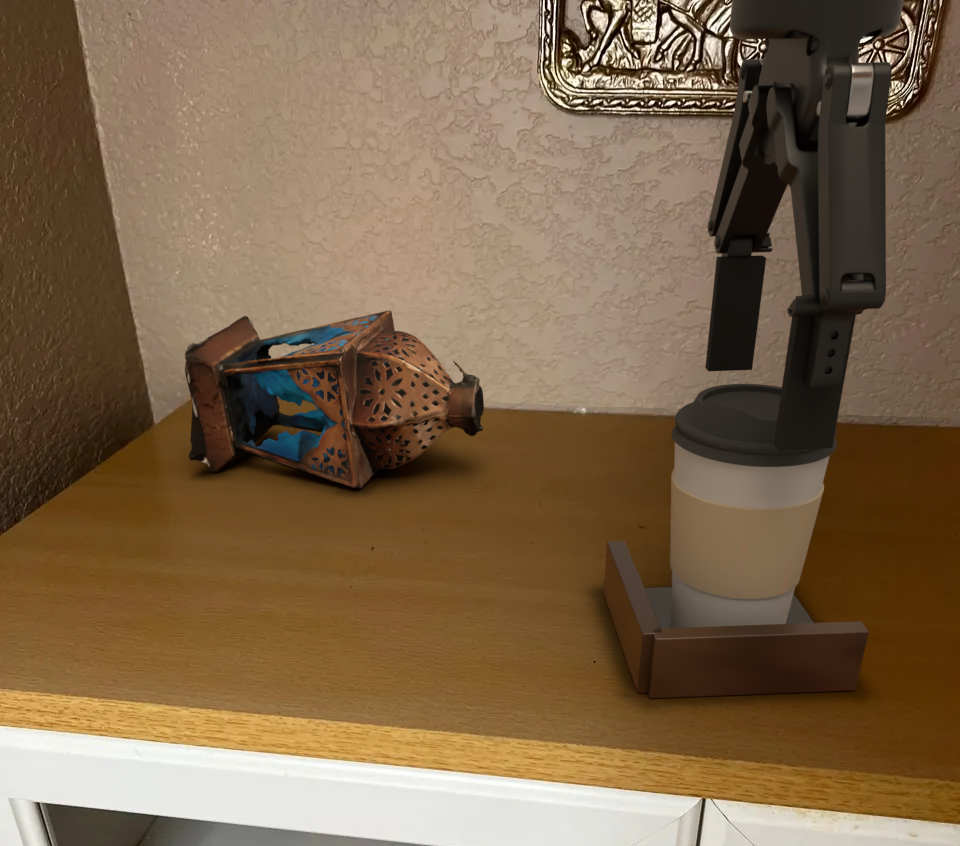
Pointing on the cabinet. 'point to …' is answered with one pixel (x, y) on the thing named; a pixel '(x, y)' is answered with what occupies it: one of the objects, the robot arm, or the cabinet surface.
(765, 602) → the coffee cup
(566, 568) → the cabinet surface
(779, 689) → the corner guide
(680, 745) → the cabinet surface
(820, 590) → the cabinet surface
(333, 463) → the lantern
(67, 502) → the cabinet surface
